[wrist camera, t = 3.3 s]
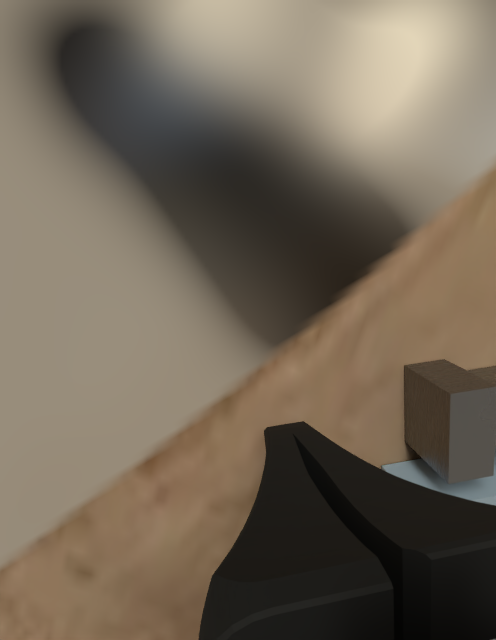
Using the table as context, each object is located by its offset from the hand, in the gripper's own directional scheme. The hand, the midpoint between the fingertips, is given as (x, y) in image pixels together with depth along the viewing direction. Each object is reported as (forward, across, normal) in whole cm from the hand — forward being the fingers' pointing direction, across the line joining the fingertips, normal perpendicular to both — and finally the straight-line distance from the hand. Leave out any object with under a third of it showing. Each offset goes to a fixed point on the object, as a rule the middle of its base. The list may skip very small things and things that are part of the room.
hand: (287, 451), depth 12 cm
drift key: (+2, -9, 0) cm, 9 cm away
